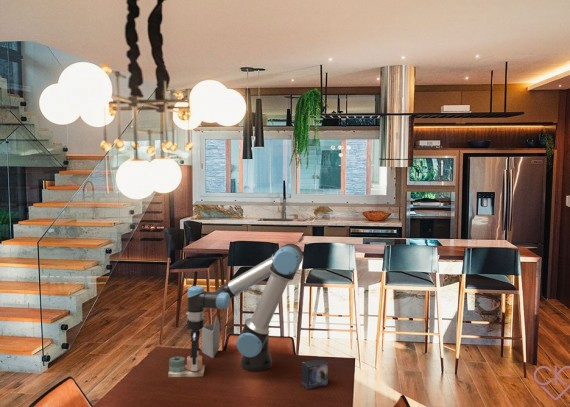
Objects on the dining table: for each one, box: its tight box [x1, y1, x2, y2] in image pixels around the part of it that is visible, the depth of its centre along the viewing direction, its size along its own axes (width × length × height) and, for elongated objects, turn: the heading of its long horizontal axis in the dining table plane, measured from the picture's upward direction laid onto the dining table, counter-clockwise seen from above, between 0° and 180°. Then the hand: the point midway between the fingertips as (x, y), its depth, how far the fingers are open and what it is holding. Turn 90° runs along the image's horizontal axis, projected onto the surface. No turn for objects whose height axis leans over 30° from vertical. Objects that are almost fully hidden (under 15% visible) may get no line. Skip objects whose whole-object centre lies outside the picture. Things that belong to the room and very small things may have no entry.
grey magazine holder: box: [201, 315, 221, 359], centre depth 272 cm, size 16×8×19 cm, turn 177°
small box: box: [300, 358, 329, 390], centre depth 232 cm, size 11×6×10 cm, turn 118°
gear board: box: [167, 356, 206, 378], centre depth 245 cm, size 16×10×6 cm, turn 95°
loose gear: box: [186, 354, 203, 371], centre depth 245 cm, size 7×7×5 cm
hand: (194, 367), depth 246 cm, fingers closed on loose gear, 7 cm apart
